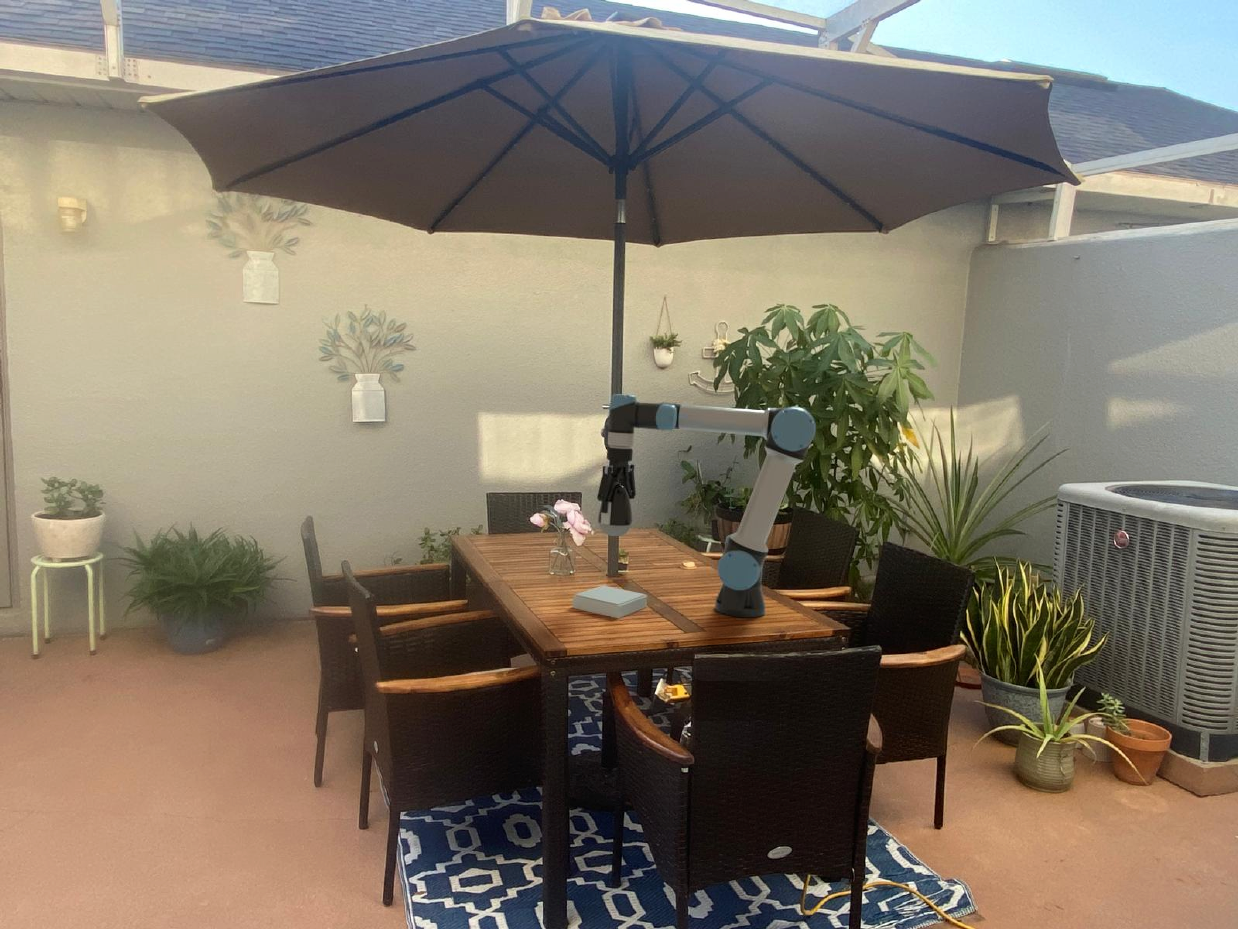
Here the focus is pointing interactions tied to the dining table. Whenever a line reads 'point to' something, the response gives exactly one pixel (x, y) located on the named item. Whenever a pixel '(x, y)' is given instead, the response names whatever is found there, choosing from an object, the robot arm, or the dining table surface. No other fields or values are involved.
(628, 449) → the robot arm
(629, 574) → the dining table surface
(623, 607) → the plinth
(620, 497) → the black grey egg speaker
